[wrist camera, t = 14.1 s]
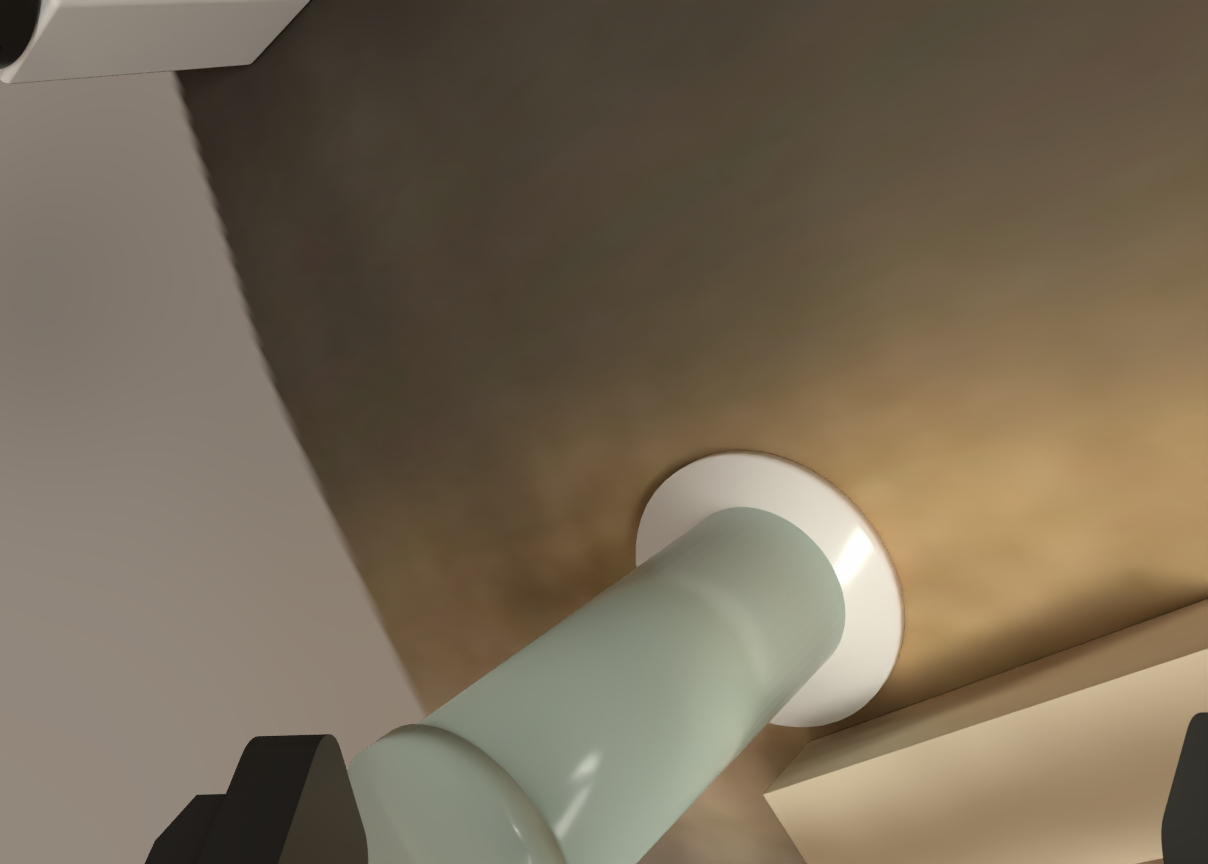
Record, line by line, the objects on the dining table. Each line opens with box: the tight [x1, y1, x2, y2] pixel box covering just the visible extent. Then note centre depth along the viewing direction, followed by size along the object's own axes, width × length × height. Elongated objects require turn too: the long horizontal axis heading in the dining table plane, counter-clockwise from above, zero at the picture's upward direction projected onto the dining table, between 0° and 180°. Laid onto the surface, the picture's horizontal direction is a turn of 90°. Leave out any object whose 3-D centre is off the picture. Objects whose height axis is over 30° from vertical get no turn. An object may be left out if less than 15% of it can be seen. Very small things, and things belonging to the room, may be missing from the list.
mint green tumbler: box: [347, 507, 846, 864], centre depth 29 cm, size 6×8×14 cm
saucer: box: [636, 450, 905, 727], centre depth 34 cm, size 9×9×1 cm
